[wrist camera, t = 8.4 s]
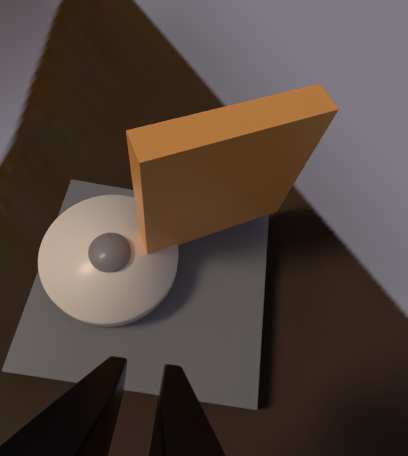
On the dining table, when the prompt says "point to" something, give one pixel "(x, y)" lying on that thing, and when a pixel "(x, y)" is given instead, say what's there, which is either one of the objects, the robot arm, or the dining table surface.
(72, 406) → the robot arm
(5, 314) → the dining table surface
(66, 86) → the dining table surface
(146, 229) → the dial
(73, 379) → the panel
